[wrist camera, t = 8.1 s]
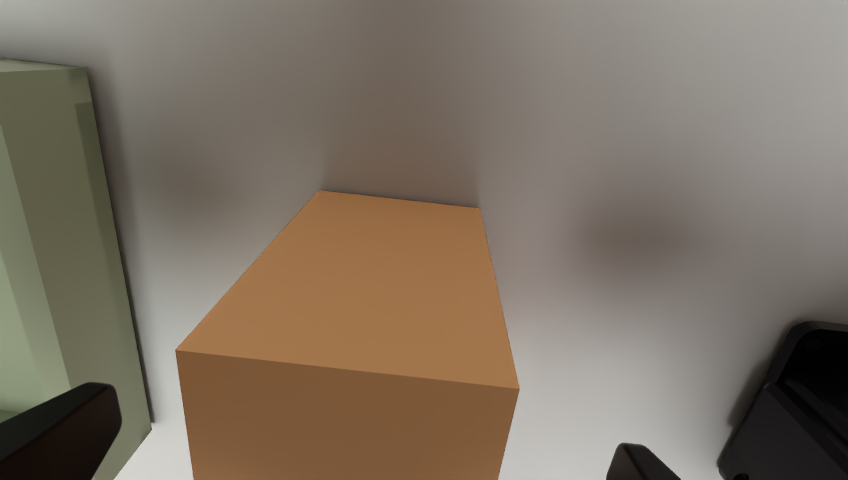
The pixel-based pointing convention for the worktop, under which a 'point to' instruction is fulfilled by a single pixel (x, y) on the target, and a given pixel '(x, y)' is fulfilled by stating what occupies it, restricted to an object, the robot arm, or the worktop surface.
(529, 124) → the worktop surface
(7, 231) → the tray
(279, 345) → the orange brown block
